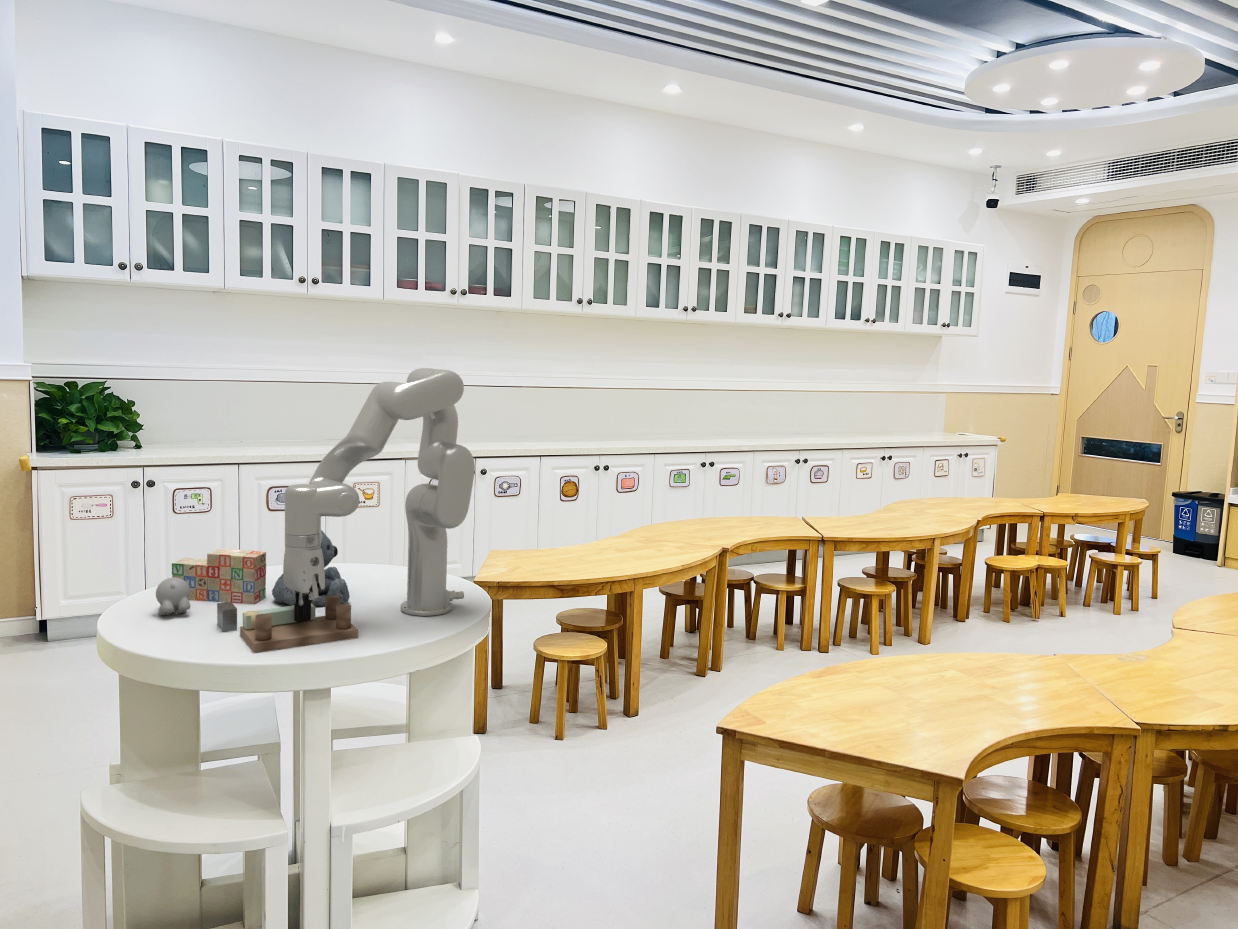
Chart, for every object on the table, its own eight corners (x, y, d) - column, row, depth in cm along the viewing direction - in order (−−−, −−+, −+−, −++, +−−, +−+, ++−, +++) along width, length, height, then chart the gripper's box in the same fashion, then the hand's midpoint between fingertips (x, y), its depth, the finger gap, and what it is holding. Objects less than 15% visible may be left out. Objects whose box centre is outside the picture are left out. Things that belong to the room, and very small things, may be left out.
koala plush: (351, 607, 219) (352, 530, 216) (274, 613, 211) (274, 533, 209) (341, 589, 234) (342, 517, 232) (269, 594, 226) (269, 519, 224)
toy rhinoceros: (185, 616, 213) (183, 581, 215) (193, 610, 204) (191, 573, 205) (152, 619, 209) (150, 584, 211) (159, 613, 199) (157, 576, 201)
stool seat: (339, 622, 206) (340, 593, 205) (358, 637, 196) (358, 607, 195) (240, 635, 193) (240, 604, 193) (253, 653, 183) (253, 620, 182)
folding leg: (246, 630, 190) (246, 615, 190) (242, 626, 193) (242, 612, 193) (315, 619, 200) (315, 606, 199) (310, 616, 202) (310, 602, 202)
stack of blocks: (171, 599, 218) (170, 550, 216) (185, 592, 224) (184, 545, 223) (254, 605, 217) (254, 556, 215) (266, 598, 223) (266, 551, 221)
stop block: (231, 622, 202) (231, 601, 201) (237, 630, 197) (237, 608, 196) (217, 624, 200) (217, 603, 199) (222, 632, 195) (222, 610, 194)
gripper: (337, 543, 192) (336, 624, 194) (299, 532, 201) (299, 610, 204) (306, 548, 186) (305, 632, 189) (269, 537, 196) (269, 616, 198)
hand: (302, 620), depth 196 cm, fingers closed
